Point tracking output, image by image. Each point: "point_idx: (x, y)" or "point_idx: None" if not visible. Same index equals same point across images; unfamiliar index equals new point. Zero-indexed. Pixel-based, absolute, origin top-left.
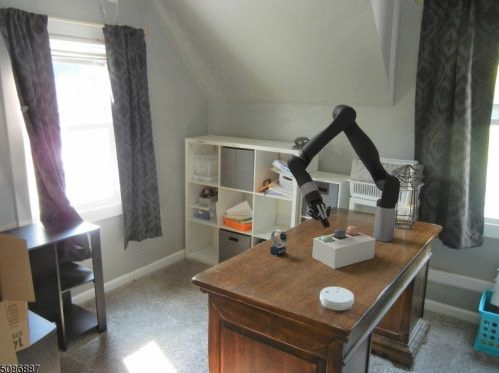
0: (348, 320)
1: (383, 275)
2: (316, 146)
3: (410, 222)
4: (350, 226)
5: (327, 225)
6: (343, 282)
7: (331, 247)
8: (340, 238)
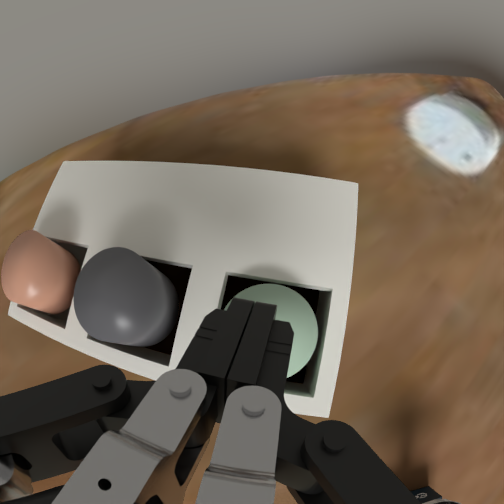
0: (475, 84)
1: (228, 110)
2: None
3: None
4: (16, 288)
5: (272, 305)
6: (390, 152)
7: (356, 218)
8: (165, 278)
